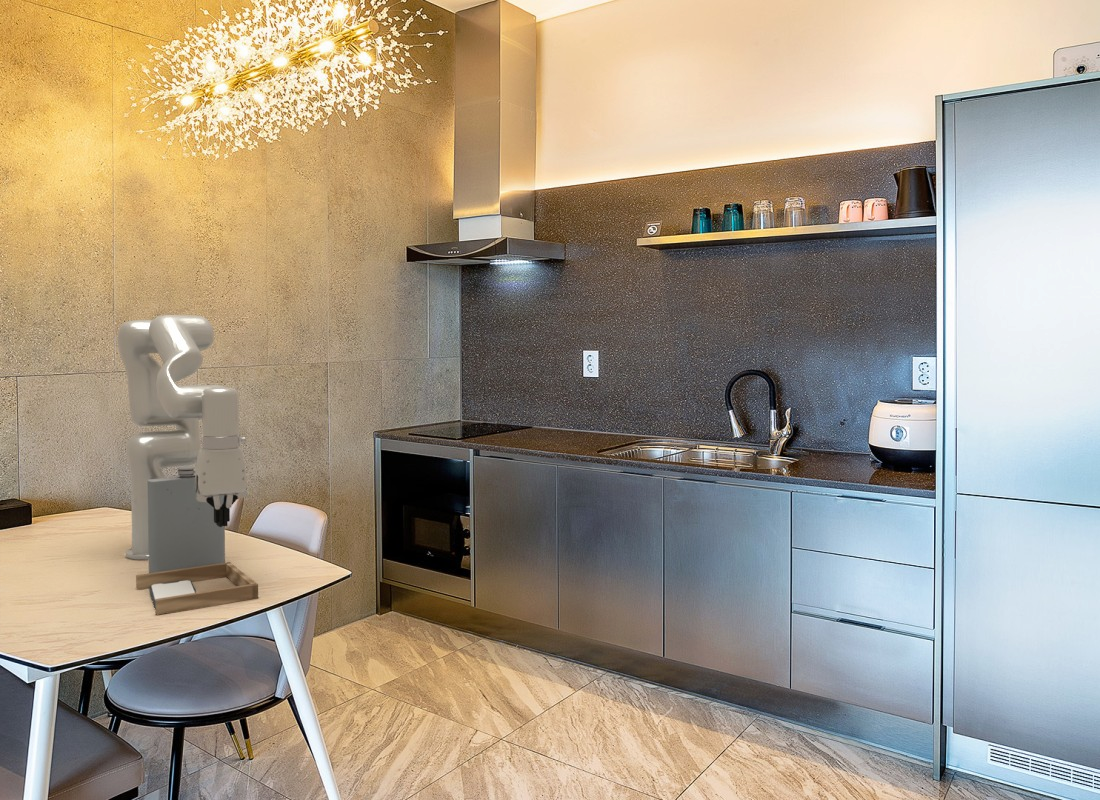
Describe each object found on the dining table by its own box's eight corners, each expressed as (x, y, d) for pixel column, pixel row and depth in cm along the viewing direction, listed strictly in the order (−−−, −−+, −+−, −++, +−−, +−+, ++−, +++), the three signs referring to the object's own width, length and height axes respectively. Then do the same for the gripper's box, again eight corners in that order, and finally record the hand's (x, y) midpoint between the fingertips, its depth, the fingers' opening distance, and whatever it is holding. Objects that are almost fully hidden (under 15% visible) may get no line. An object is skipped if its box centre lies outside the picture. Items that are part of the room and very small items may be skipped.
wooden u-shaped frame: (136, 588, 183) (136, 575, 183) (230, 574, 195) (230, 562, 195) (156, 615, 166) (156, 600, 166) (258, 598, 178) (258, 584, 178)
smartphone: (200, 607, 173) (191, 585, 187) (200, 600, 173) (191, 579, 187) (154, 614, 169) (148, 591, 183) (154, 606, 169) (148, 584, 183)
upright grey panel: (220, 561, 207) (219, 462, 205) (227, 565, 203) (226, 464, 201) (146, 573, 195) (144, 468, 194) (151, 577, 192) (150, 471, 190)
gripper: (250, 439, 189) (251, 518, 190) (180, 443, 180) (181, 526, 181) (260, 443, 183) (261, 524, 184) (188, 447, 174) (190, 533, 175)
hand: (221, 525), depth 183 cm, fingers closed
